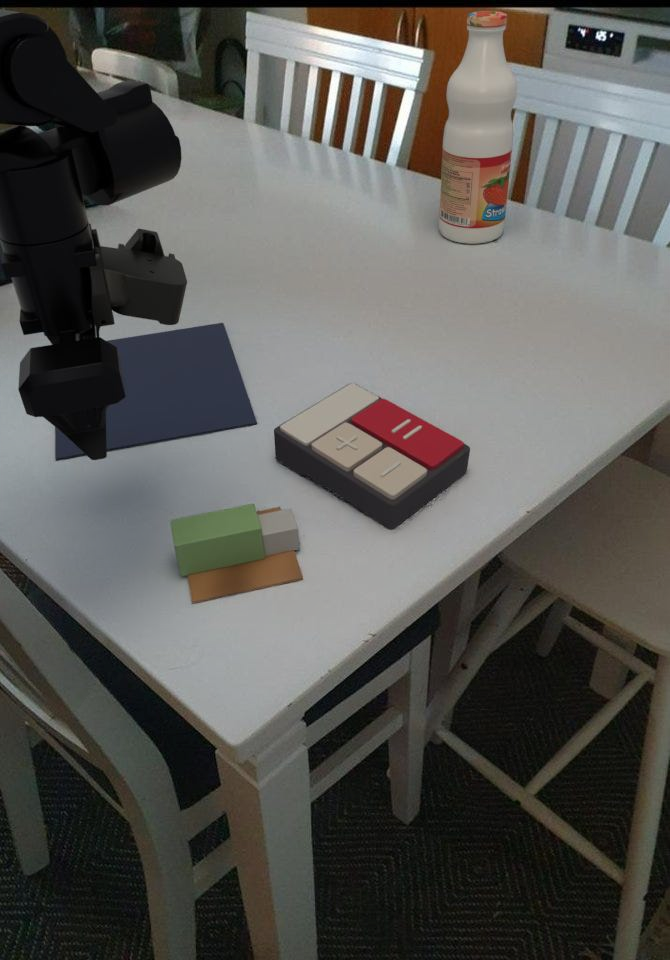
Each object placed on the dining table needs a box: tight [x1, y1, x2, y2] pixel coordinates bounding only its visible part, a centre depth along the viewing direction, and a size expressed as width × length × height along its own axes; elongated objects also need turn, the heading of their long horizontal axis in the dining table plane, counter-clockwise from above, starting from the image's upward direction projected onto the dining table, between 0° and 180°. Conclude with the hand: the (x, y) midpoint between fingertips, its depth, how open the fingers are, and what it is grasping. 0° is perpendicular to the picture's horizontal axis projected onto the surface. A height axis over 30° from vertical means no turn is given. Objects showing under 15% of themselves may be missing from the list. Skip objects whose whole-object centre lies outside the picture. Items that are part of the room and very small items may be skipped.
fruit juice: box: [438, 10, 518, 245], centre depth 109 cm, size 9×9×28 cm
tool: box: [169, 503, 301, 577], centre depth 67 cm, size 10×3×4 cm, turn 105°
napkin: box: [54, 322, 258, 461], centre depth 89 cm, size 20×22×1 cm
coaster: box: [186, 506, 304, 604], centre depth 68 cm, size 9×9×1 cm
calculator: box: [273, 382, 471, 530], centre depth 75 cm, size 11×4×15 cm
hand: (96, 423), depth 63 cm, fingers open, 9 cm apart
